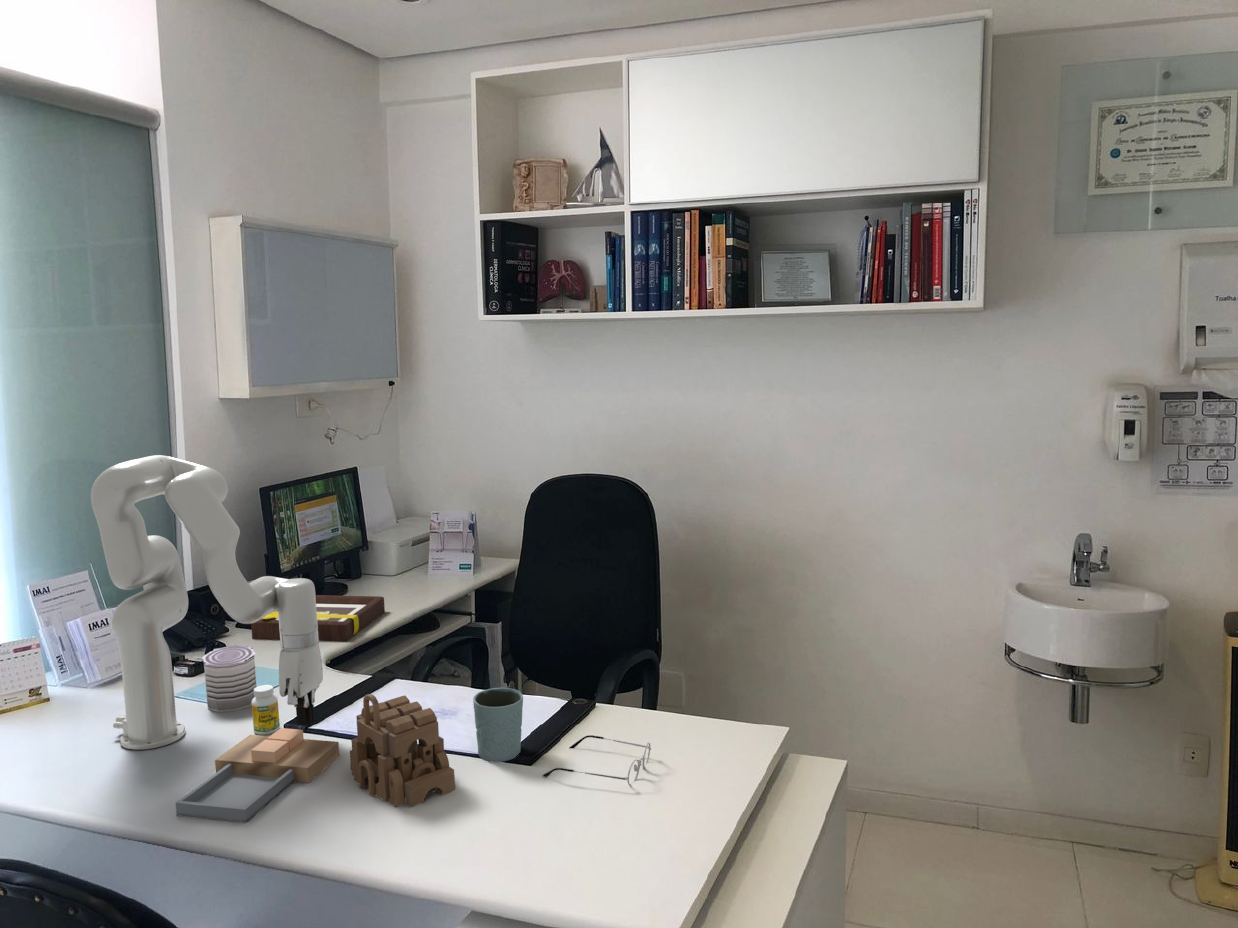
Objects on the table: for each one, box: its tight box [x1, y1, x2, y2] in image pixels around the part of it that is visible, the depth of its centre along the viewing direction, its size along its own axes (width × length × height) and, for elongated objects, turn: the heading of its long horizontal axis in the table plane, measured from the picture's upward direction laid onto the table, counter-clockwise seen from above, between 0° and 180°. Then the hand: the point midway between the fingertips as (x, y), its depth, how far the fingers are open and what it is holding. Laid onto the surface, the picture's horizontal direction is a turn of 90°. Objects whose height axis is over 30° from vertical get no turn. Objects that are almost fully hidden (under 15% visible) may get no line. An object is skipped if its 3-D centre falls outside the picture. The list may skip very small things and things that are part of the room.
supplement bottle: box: [251, 684, 281, 736], centre depth 212 cm, size 5×5×10 cm
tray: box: [174, 764, 296, 824], centre depth 182 cm, size 14×16×2 cm
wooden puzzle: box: [349, 693, 456, 808], centre depth 187 cm, size 22×15×19 cm, turn 43°
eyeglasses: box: [542, 735, 652, 786], centre depth 191 cm, size 16×19×5 cm
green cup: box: [472, 687, 524, 763], centre depth 198 cm, size 10×10×12 cm
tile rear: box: [267, 727, 305, 751], centre depth 198 cm, size 5×5×2 cm
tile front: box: [251, 739, 289, 763], centre depth 193 cm, size 5×5×2 cm
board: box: [214, 734, 340, 784], centre depth 195 cm, size 20×12×3 cm, turn 78°
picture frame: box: [250, 594, 386, 643], centre depth 287 cm, size 28×7×30 cm
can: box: [201, 644, 257, 713], centre depth 228 cm, size 11×11×12 cm
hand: (306, 723), depth 205 cm, fingers closed
